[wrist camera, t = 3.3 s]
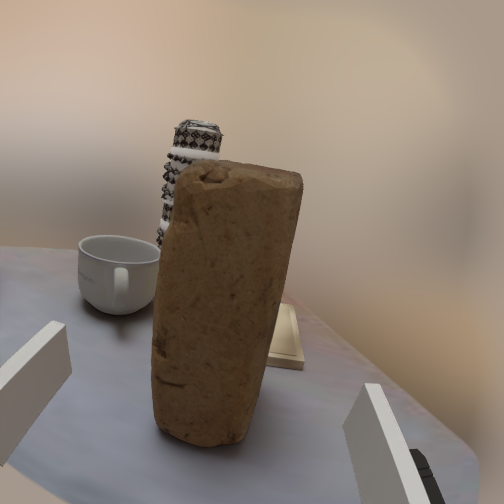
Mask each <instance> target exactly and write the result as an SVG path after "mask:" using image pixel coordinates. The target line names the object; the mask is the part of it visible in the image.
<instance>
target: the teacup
mask: <svg viewBox="0 0 504 504" xmlns="http://www.w3.org/2000/svg"><path fill="white" fill-rule="evenodd" d="M78 249H79V256H78V284H79V289H80V291H81V293H82V295H83V297H84V298H85V299H86V300H87V301H88V302H89V303H91V304H92V305H93V306H94V307H95V308H96V309H98V310H100V311H102V312H104V313H108V314H114V315H127V314H131V313H134V312H136V311H138V310H139V309H141V308H143V307H145V306H146V305H147V304H149V303H150V301H151V300H152V299H153V297H154V295H155V291H156V283H157V275H158V272H159V257H160V252H161V250H160V249H159V248H158V247H156V246H155V245H153V244H151V243H148V242H145V241H142V240H139V239H134V238H129V237H124V236H115V235H114V236H113V235H99V236H92V237H87V238H84V239H83V240H81V241H80V242H79V244H78Z"/></svg>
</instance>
